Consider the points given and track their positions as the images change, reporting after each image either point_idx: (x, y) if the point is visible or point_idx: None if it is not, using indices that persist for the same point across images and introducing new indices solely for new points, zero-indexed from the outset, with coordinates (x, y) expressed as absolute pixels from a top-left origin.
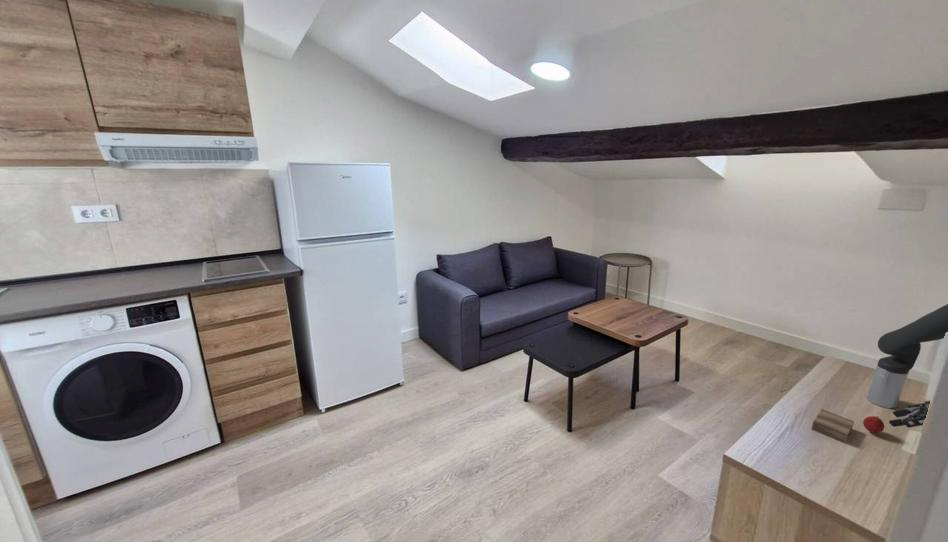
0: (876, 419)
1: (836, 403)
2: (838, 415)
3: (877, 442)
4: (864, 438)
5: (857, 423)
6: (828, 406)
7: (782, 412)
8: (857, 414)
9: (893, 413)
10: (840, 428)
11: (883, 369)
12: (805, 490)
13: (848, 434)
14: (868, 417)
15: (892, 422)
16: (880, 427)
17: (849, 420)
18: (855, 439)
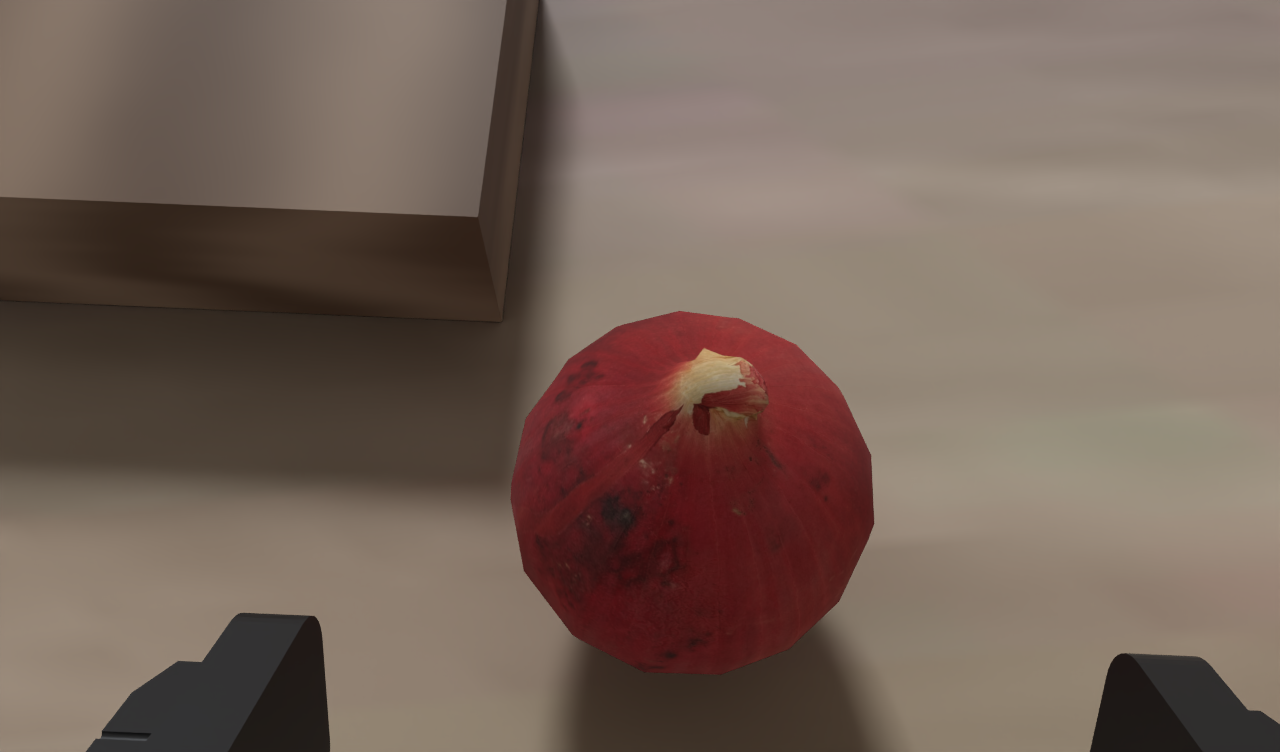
0: (628, 434)
1: (1213, 75)
2: (500, 21)
3: (364, 677)
4: (347, 498)
5: None
6: (992, 17)
7: None
8: (1147, 327)
9: (1108, 685)
10: (9, 93)
11: None
12: None
13: (144, 271)
14: (679, 322)
15: (150, 694)
16: (564, 594)
17: (449, 157)
18: (203, 399)
